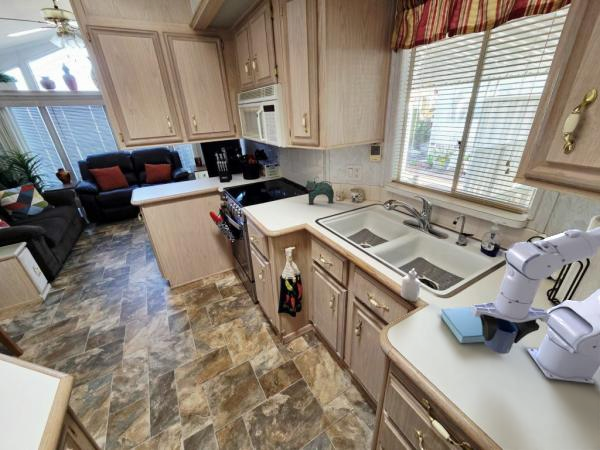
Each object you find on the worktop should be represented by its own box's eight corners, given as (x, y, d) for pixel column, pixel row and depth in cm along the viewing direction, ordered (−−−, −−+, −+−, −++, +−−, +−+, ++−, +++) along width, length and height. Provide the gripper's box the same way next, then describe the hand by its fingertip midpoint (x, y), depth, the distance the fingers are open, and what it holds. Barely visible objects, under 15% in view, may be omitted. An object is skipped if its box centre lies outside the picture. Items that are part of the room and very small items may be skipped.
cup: (502, 336, 63) (510, 317, 60) (515, 355, 58) (523, 335, 55) (479, 335, 64) (486, 315, 61) (490, 352, 59) (497, 333, 56)
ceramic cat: (306, 205, 180) (305, 178, 172) (306, 202, 186) (305, 176, 177) (334, 203, 180) (334, 176, 171) (333, 200, 185) (332, 174, 177)
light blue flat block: (473, 313, 79) (475, 306, 78) (498, 341, 69) (501, 334, 68) (439, 316, 79) (441, 308, 78) (460, 344, 69) (462, 336, 68)
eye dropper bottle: (407, 290, 91) (411, 263, 86) (420, 300, 86) (425, 271, 81) (398, 294, 89) (402, 266, 84) (410, 304, 84) (414, 275, 79)
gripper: (541, 284, 57) (522, 328, 62) (471, 281, 59) (459, 323, 65) (565, 306, 50) (542, 353, 56) (486, 301, 53) (471, 346, 59)
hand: (499, 338), depth 60 cm, fingers closed on cup, 5 cm apart
